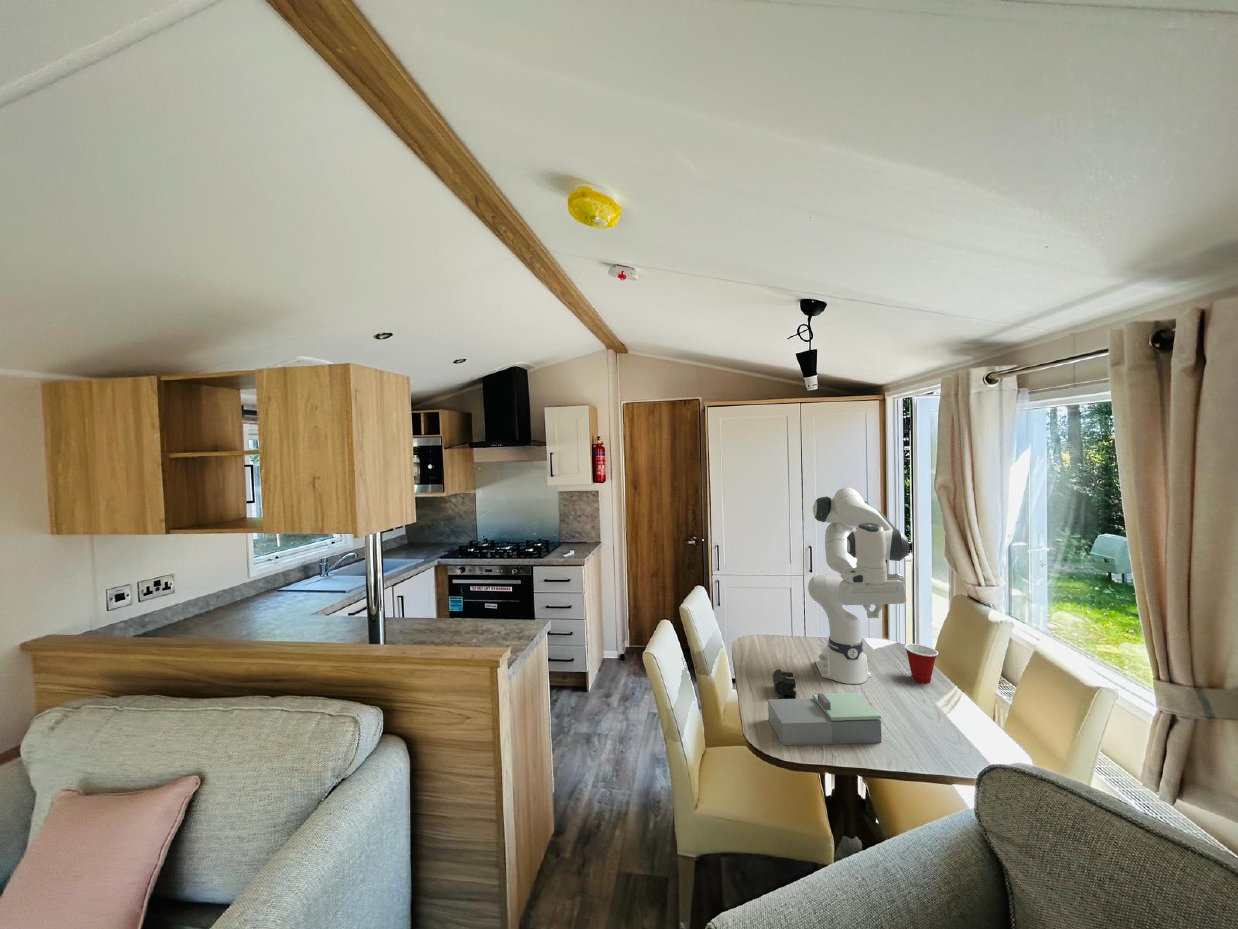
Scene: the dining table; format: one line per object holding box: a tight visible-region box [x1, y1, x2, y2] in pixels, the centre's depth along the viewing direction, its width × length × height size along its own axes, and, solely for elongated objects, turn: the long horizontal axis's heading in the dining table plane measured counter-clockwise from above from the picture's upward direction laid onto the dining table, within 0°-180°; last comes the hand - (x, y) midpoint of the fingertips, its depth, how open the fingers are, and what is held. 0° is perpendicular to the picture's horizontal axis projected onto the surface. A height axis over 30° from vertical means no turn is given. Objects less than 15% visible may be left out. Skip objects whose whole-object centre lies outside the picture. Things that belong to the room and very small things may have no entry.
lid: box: [812, 692, 882, 721], centre depth 154 cm, size 15×15×3 cm
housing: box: [767, 697, 882, 746], centre depth 154 cm, size 15×29×6 cm, turn 90°
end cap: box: [772, 668, 797, 699], centre depth 179 cm, size 10×7×7 cm
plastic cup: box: [904, 643, 939, 684], centre depth 185 cm, size 11×11×12 cm
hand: (872, 617), depth 158 cm, fingers closed
